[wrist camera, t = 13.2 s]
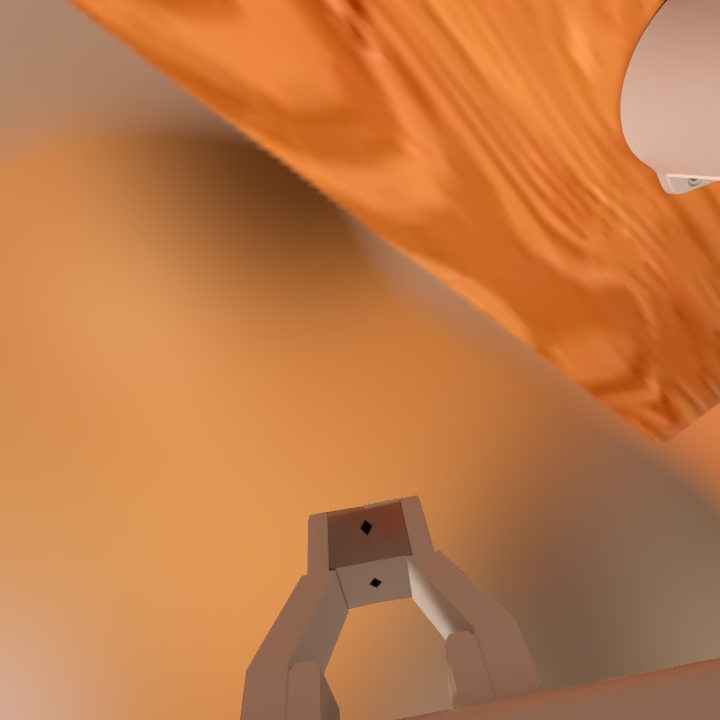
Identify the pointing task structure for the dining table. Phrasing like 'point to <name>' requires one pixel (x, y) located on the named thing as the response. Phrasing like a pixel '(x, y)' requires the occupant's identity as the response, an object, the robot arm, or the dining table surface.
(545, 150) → the dining table surface
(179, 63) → the dining table surface
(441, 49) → the dining table surface
